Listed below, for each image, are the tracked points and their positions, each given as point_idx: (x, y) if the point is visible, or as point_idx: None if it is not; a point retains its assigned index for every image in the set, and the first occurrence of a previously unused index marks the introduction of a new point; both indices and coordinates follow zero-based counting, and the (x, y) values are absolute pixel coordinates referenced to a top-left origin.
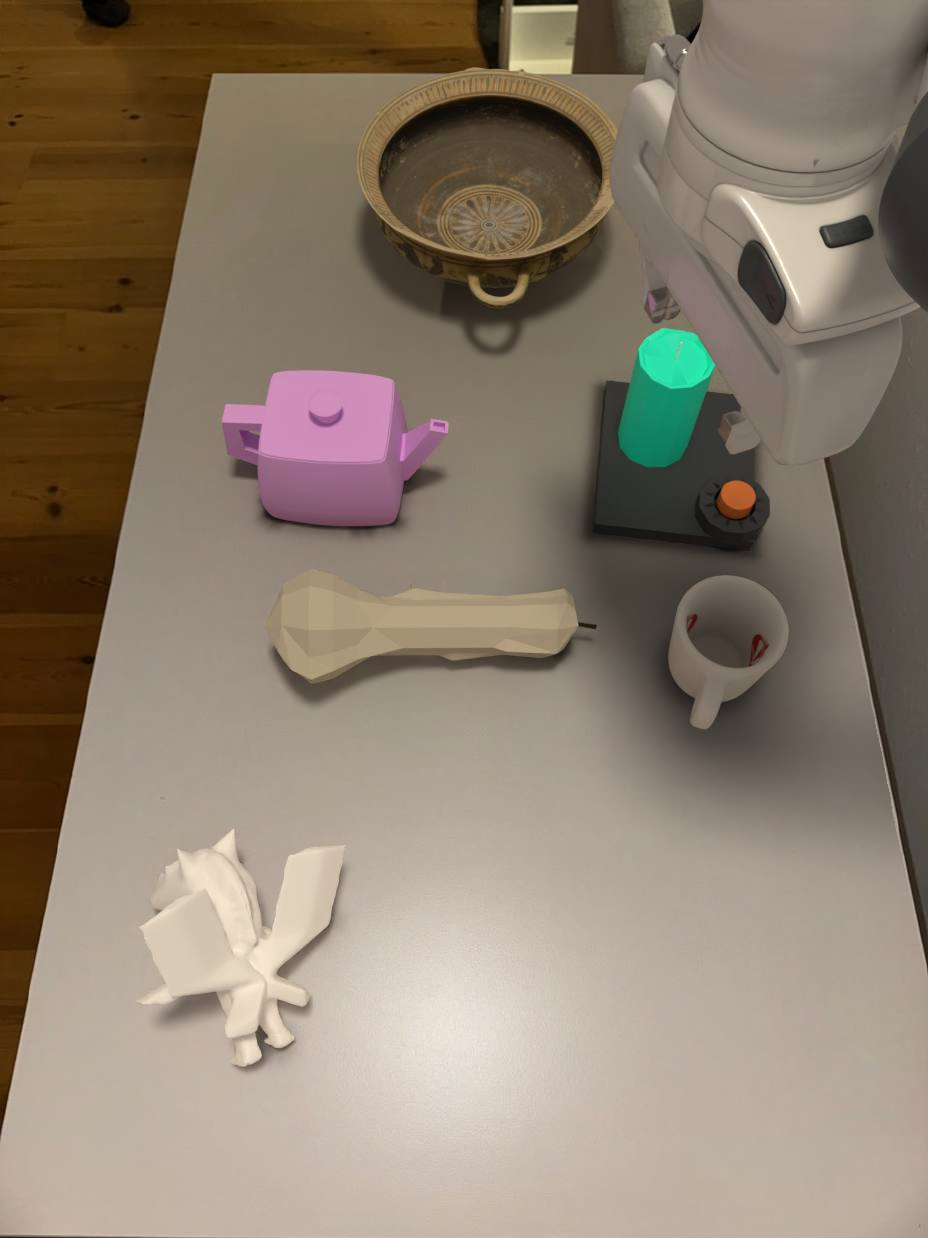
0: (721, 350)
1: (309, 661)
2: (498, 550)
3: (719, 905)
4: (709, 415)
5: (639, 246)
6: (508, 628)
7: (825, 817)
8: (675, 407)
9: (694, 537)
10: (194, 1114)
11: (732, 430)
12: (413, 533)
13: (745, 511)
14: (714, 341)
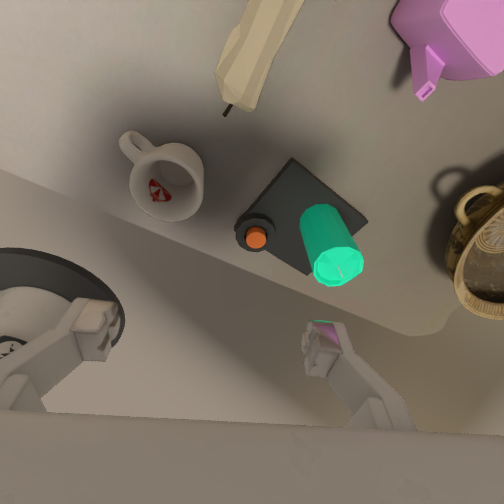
0: (40, 480)
1: None
2: (317, 90)
3: (28, 77)
4: None
5: (402, 400)
6: (243, 42)
7: (74, 170)
8: (313, 246)
9: (253, 206)
10: None
11: (67, 328)
12: (371, 32)
13: (246, 237)
14: (78, 474)
